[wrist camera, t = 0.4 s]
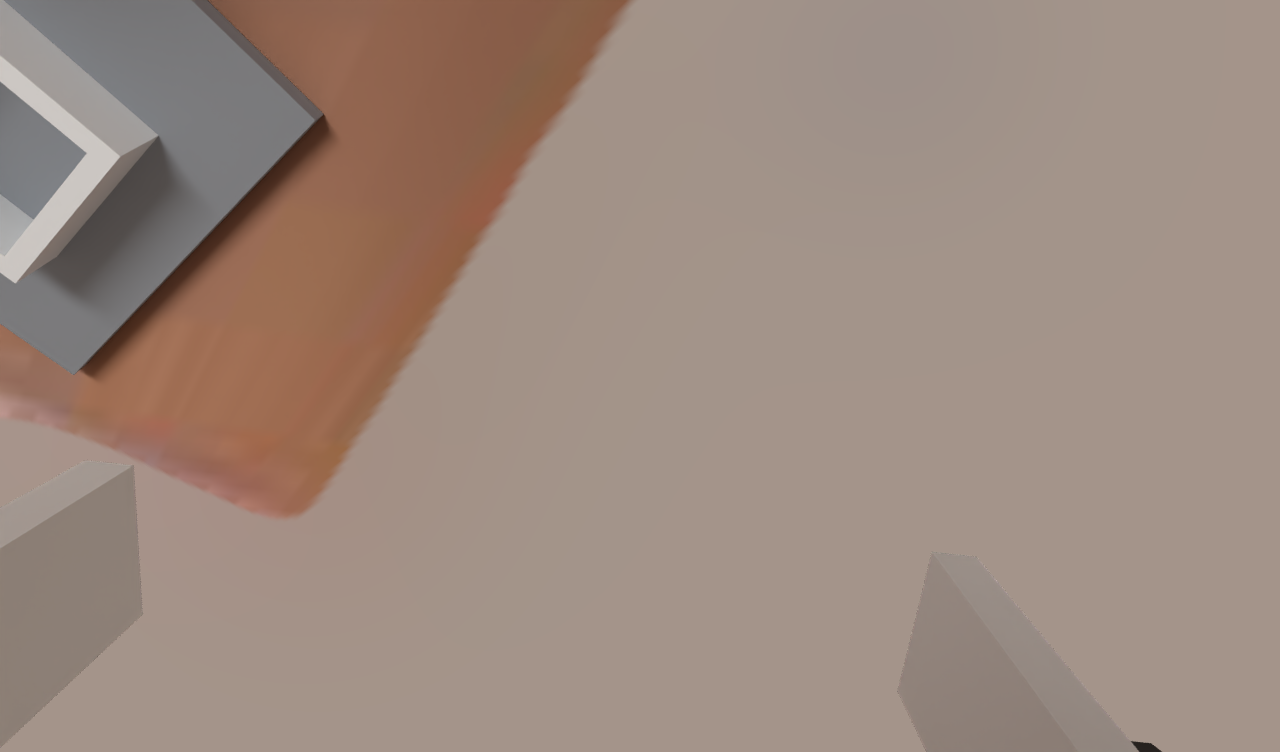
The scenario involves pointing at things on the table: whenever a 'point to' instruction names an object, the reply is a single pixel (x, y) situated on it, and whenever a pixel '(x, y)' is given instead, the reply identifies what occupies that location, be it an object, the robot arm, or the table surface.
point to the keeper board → (123, 155)
